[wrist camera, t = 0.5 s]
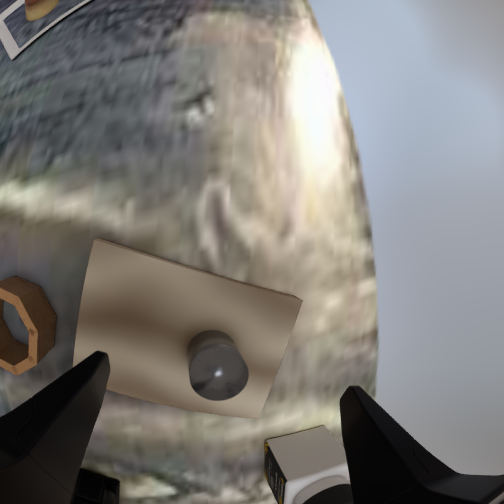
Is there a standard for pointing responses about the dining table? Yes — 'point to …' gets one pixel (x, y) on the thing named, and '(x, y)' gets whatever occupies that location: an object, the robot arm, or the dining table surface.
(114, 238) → the dining table surface
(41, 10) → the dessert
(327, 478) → the medicine bottle
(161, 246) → the dining table surface
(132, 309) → the piston stand
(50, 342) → the ring
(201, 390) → the piston
